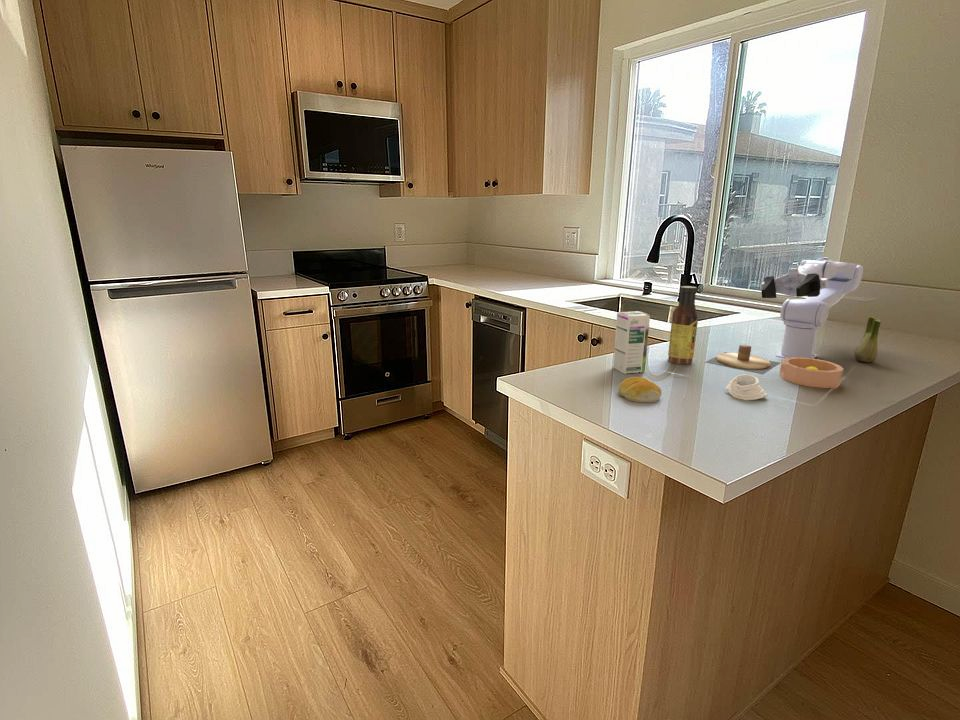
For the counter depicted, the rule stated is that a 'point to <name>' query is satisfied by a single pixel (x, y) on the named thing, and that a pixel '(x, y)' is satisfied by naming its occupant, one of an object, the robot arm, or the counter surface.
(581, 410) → the counter surface
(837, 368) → the ring
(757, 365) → the lid
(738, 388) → the whipped cream
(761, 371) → the mat
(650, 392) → the bread roll
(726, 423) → the counter surface
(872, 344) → the fennel bulb
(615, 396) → the counter surface
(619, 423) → the counter surface
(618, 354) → the syrup box
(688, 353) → the sauce bottle
